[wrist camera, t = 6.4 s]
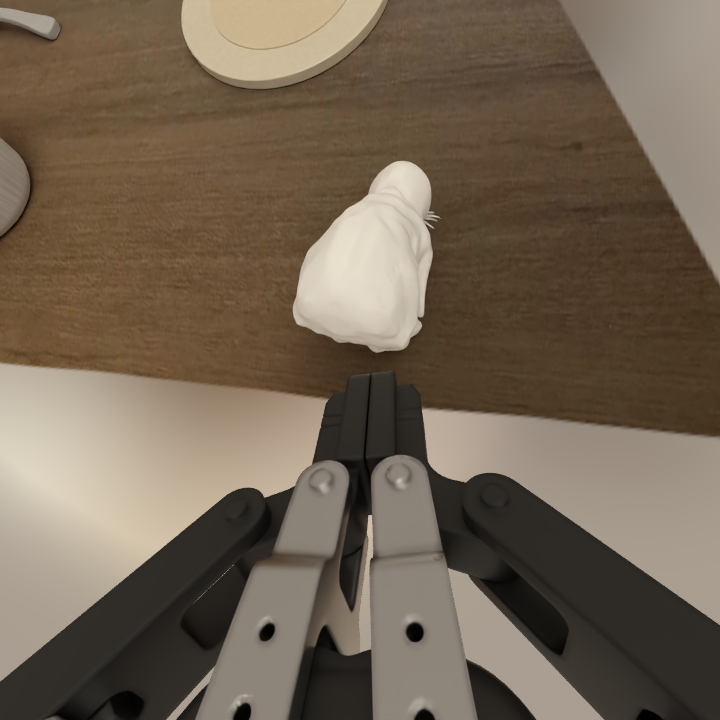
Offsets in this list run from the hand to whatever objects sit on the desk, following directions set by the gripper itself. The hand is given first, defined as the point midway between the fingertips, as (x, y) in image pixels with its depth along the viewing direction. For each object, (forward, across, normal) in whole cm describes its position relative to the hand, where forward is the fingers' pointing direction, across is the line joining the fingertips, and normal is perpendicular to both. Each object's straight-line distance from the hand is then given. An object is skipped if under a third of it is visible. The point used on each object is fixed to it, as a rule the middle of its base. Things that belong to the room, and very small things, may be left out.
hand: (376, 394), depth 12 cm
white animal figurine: (+14, 0, +1) cm, 14 cm away
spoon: (+36, +34, -21) cm, 54 cm away
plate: (+32, +6, -17) cm, 37 cm away
